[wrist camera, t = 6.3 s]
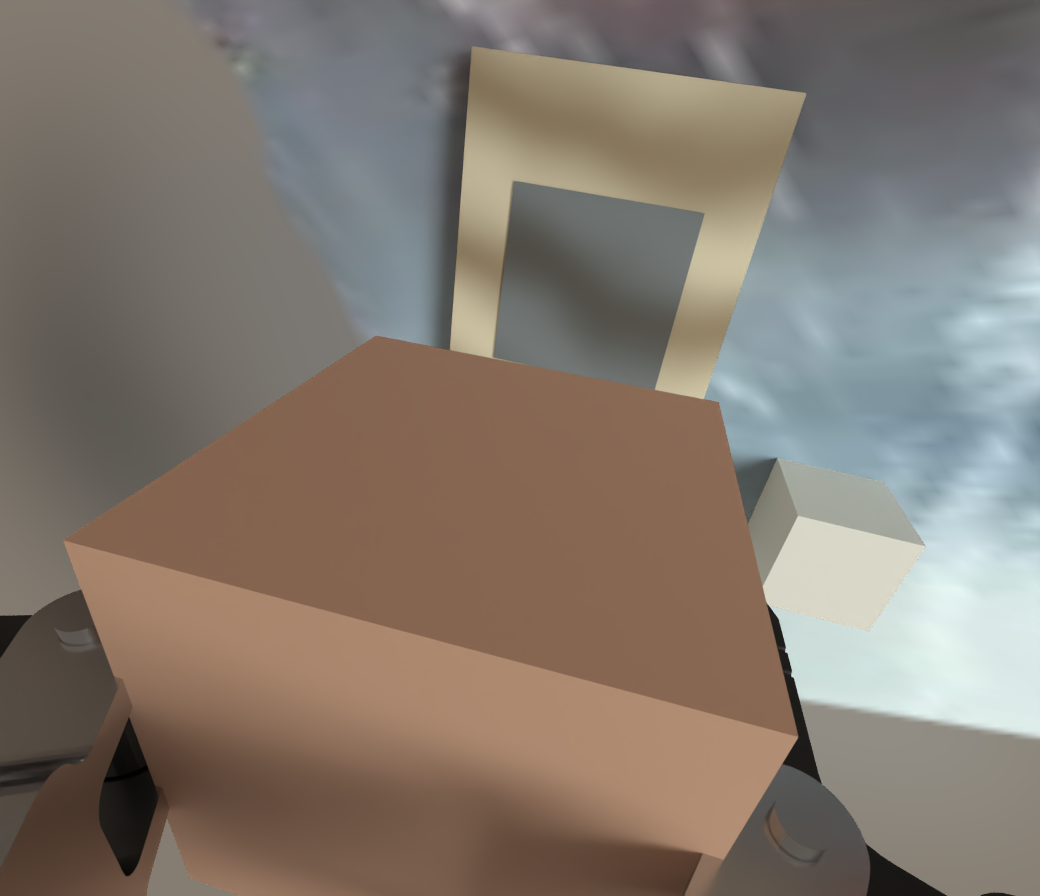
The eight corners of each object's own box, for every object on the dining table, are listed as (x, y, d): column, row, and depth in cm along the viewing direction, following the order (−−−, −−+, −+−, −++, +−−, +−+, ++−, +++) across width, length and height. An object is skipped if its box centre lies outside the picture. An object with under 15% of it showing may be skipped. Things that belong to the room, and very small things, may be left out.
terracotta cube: (375, 335, 10) (63, 540, 5) (718, 402, 9) (797, 737, 4) (378, 584, 13) (189, 878, 8) (636, 651, 12) (620, 1029, 7)
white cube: (777, 456, 27) (797, 515, 23) (883, 481, 26) (926, 546, 22) (742, 535, 30) (755, 601, 25) (838, 559, 29) (869, 631, 25)
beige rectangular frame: (483, 51, 22) (471, 45, 20) (797, 96, 20) (807, 92, 19) (453, 412, 30) (443, 425, 28) (676, 463, 28) (676, 479, 27)
